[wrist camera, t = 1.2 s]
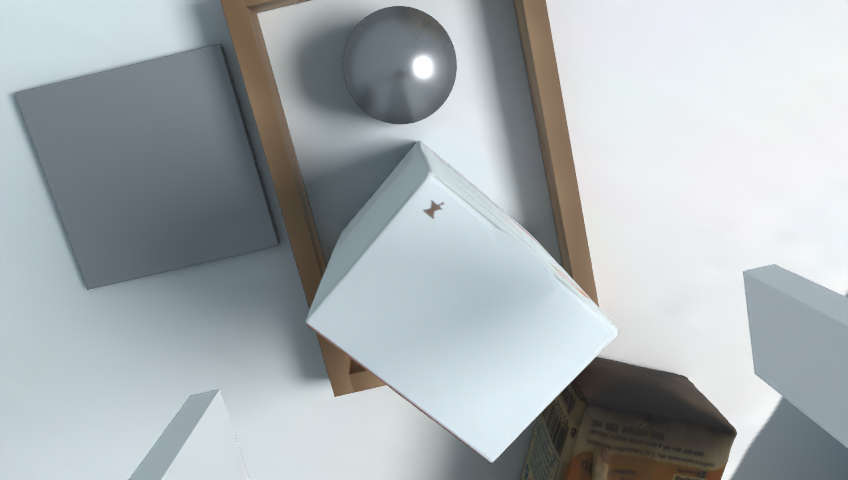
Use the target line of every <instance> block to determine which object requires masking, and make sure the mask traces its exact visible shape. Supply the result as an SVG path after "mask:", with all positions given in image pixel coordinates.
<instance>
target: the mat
mask: <svg viewBox="0 0 848 480" xmlns="http://www.w3.org/2000/svg"><path fill="white" fill-rule="evenodd" d="M15 96H16V99H17V101H18V104H19V107H20V109H21V112H22V115H23V117H24V120H25V123H26V126H27V128H28V131H29V134H30V136H31V139H32V142H33V144H34V147H35V150H36V152H37V155H38V158H39V160H40V163H41V166H42V169H43V171H44V174H45V177H46V179H47V182H48V185H49V187H50V190H51V193H52V195H53V198H54V201H55V203H56V206H57V209H58V212H59V214H60V217H61V220H62V222H63V225H64V228H65V230H66V233H67V236H68V238H69V241H70V244H71V247H72V249H73V252H74V255H75V257H76V260H77V263H78V265H79V268H80V271H81V273H82V276H83V279H84V281H85V284H86V287H87V290H89V289H94V288H98V287H102V286H106V285H111V284H115V283H119V282H124V281H128V280H132V279H136V278H141V277H145V276H149V275H154V274H158V273H162V272H166V271H171V270H175V269H179V268H184V267H188V266H192V265H196V264H201V263H205V262H209V261H214V260H218V259H222V258H226V257H231V256H235V255H239V254H244V253H248V252H252V251H256V250H261V249H265V248H269V247H274V246H278V245H279V244H280V242H279V239H278V235H277V232H276V229H275V225H274V222H273V218H272V215H271V211H270V208H269V205H268V201H267V198H266V194H265V191H264V187H263V184H262V181H261V177H260V174H259V170H258V167H257V163H256V160H255V157H254V153H253V150H252V146H251V143H250V139H249V136H248V133H247V129H246V126H245V122H244V119H243V115H242V112H241V109H240V105H239V102H238V98H237V95H236V91H235V88H234V85H233V81H232V78H231V74H230V71H229V68H228V64H227V61H226V57H225V54H224V50H223V47H222V44H217V45H212V46H208V47H204V48H200V49H196V50H191V51H187V52H183V53H179V54H175V55H171V56H166V57H162V58H158V59H154V60H150V61H145V62H141V63H137V64H133V65H129V66H125V67H120V68H116V69H112V70H108V71H104V72H99V73H95V74H91V75H87V76H83V77H79V78H74V79H70V80H66V81H62V82H58V83H54V84H49V85H45V86H41V87H37V88H33V89H28V90H24V91H20V92H16V93H15Z"/></svg>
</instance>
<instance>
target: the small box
mask: <svg viewBox="0 0 848 480" xmlns="http://www.w3.org/2000/svg"><path fill="white" fill-rule="evenodd" d="M306 325H307V326H308V327H310V328H311V329H312V330H314V331H315V332H316V333H318V334H319V335H320V336H322V337H323V338H324V339H326V340H327V341H328V342H330V343H331V344H332V345H334V346H335V347H336V348H338V349H339V350H341V351H342V352H343V353H345V354H346V355H347V356H349V357H350V358H351V359H352V360H354V361H355V362H356V363H358V364H359V365H360V366H362V367H363V368H364V369H366V370H367V371H368V372H370V373H371V374H372V375H374V376H375V377H376V378H378V379H379V380H380V381H382V382H383V383H384V384H386V385H387V386H389V387H390V388H391V389H393V390H394V391H395V392H396V393H398V394H399V395H400V396H402V397H403V398H404V399H406V400H407V401H409V402H410V403H411V404H413V405H414V406H415V407H416V408H417V409H419V410H420V411H421V412H423V413H424V414H425V415H427V416H428V417H429V418H431V419H432V420H434V421H435V422H436V423H438V424H439V425H440V426H442V427H443V428H444V429H446V430H447V431H448V432H450V433H451V434H452V435H454V436H455V437H456V438H458V439H459V440H460V441H462V442H463V443H464V444H466V445H467V446H468V447H470V448H471V449H472V450H474V451H475V452H476V453H478V454H479V455H480V456H482V457H483V458H485V459H486V460H487V461H488V462H489V463H492V462H494V461H495V460H496V459H497V458H498V457H499V456H500V455H501V453H502V452H503V451H504V450H505V449H506V448H507V447H508V446H509V445H510V444H511V443H512V442H513V441H514V440H515V439H516V438H517V437H518V436H519V435H520V434H521V433H522V432H523V430H524V429H525V428H526V427H527V426H528V425H529V424H530V423H531V422H532V421H533V420H534V419H535V418H536V417H537V416H538V415H539V414H540V413H541V412H542V411H543V410H544V409H545V408H546V407H547V406H548V405H549V404H550V403H551V402H552V401H553V400H554V399H555V398H556V397H557V396H558V395H559V394H560V393H561V392H562V391H563V390H564V389H565V388H566V387H567V386H568V385H569V384H570V383H571V382H572V381H573V380H574V379H575V378H576V377H577V376H578V375H579V374H580V373H581V372H582V370H583V369H584V368H585V367H586V366H587V365H588V364H589V363H590V362H591V361H592V360H593V359H594V358H595V357H596V356H597V355H598V354H599V353H600V352H601V351H602V350H603V349H604V348H605V347H606V346H607V345H608V344H609V343H610V342H611V341H612V340H613V339H614V338H615V337H617V335H618V329H617V327H616V326H615V325H614V324H613V322H612V321H611V320H610V319H609V318H608V317H607V316H606V315H605V313H604V312H603V311H602V310H601V309H600V308H599V307H598V306H597V305H596V304H595V303H594V302H593V301H592V300H591V299H590V297H589V296H588V295H587V294H586V293H585V292H584V291H583V290H582V289H581V288H580V287H579V285H578V284H577V283H576V282H575V281H574V280H573V279H572V278H571V277H570V276H569V275H568V273H567V272H566V271H565V270H564V269H563V268H562V267H561V266H560V265H559V264H558V263H557V262H556V261H555V260H554V259H553V258H552V257H551V255H550V254H549V253H548V252H547V251H546V250H545V249H544V248H543V247H542V246H541V244H540V243H539V242H538V241H537V240H536V239H535V238H534V237H533V236H532V235H531V234H530V233H529V232H528V231H527V230H526V229H525V228H523V227H522V226H521V225H520V224H519V223H518V222H516V221H515V220H514V219H513V218H512V217H511V216H510V215H508V214H507V213H506V212H505V211H504V210H503V209H501V208H500V207H499V206H498V205H497V204H496V203H494V202H493V201H492V200H491V199H490V198H488V197H487V196H486V195H485V194H484V193H483V192H481V191H480V190H479V189H478V188H477V187H476V186H474V185H473V184H472V183H471V182H470V181H469V180H467V179H466V178H465V177H464V176H463V175H461V174H460V173H459V172H458V171H457V170H456V169H454V168H453V167H452V166H451V165H450V164H448V163H447V162H446V161H445V160H444V159H442V158H441V157H440V156H439V155H437V154H436V153H435V152H434V151H433V150H431V149H430V148H429V147H428V146H426V145H425V144H424V143H422V142H421V141H417V143H416V144H415V145H414V146H413V147H412V148H411V150H410V151H409V152H408V153H407V154H406V156H405V157H404V158H403V159H402V160H401V162H400V163H399V164H398V165H397V166H396V168H395V169H394V170H393V171H392V172H391V173H390V175H389V176H388V177H387V178H386V179H385V181H384V182H383V183H382V184H381V185H380V187H379V188H378V189H377V190H376V191H375V193H374V194H373V195H372V196H371V197H370V199H369V200H368V201H367V202H366V203H365V204H364V206H363V207H362V208H361V209H360V210H359V211H358V213H357V214H356V215H355V216H354V217H353V219H352V220H351V221H350V222H349V223H348V224H347V226H346V227H345V228H344V229H343V231H342V232H341V234H340V236H339V239H338V241H337V244H336V246H335V248H334V250H333V252H332V255H331V258H330V260H329V263H328V265H327V268H326V270H325V273H324V275H323V277H322V280H321V282H320V285H319V288H318V290H317V293H316V295H315V298H314V300H313V303H312V305H311V308H310V311H309V313H308V316H307V319H306Z"/></svg>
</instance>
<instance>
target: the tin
mask: <svg viewBox="0 0 848 480" xmlns="http://www.w3.org/2000/svg"><path fill="white" fill-rule="evenodd" d="M456 70H457V63H456V54H455V50H454V46H453V44H452V41H451V39H450V37H449V36H448V34H447V32H446V31H445V29H444V28H443V27H442V26H441V25H440V24H439V23H438V22H437V21H436V20H435V19H434V18H433V17H431V16H430V15H428V14H426V13H425V12H423V11H420V10H418V9H415V8H411V7H404V6H393V7H387V8H384V9H380V10H378V11H376V12H374V13H372V14H370V15H369V16H367V17H366V18H365V19H363V20H362V21H361V22H360V23H359V24H358V25H357V26H356V28H355V29H354V30H353V32H352V33H351V35H350V37H349V39H348V41H347V44H346V47H345V51H344V56H343V73H344V79H345V82H346V85H347V88H348V90H349V92H350V94H351V96H352V97H353V99H354V100H355V102H356V103H357V104H358V105H359V106H360V107H361V108H362V109H363V110H364V111H365V112H366V113H368V114H369V115H370V116H372V117H374V118H376V119H378V120H381V121H383V122H387V123H392V124H409V123H414V122H417V121H420V120H422V119H425V118H427V117H428V116H430V115H431V114H433V113H434V112H435V111H437V110H438V109H439V108H440V107H441V106H442V105H443V103H444V102H445V101H446V99H447V98H448V96H449V94H450V92H451V90H452V88H453V85H454V82H455V77H456Z"/></svg>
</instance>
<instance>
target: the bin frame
mask: <svg viewBox="0 0 848 480" xmlns="http://www.w3.org/2000/svg"><path fill="white" fill-rule="evenodd" d="M305 1H309V0H221V3H222V7H223V10H224V14H225V17H226V21H227V24H228V27H229V31H230V34H231V38H232V41H233V45H234V48H235V52H236V55H237V59H238V62H239V66H240V69H241V73H242V76H243V80H244V83H245V87H246V90H247V94H248V97H249V100H250V104H251V107H252V111H253V114H254V118H255V121H256V125H257V128H258V132H259V135H260V139H261V142H262V146H263V149H264V153H265V156H266V160H267V163H268V166H269V170H270V173H271V177H272V180H273V184H274V187H275V191H276V194H277V198H278V201H279V205H280V208H281V212H282V215H283V219H284V222H285V226H286V229H287V232H288V236H289V239H290V243H291V246H292V250H293V253H294V257H295V260H296V264H297V267H298V271H299V274H300V278H301V281H302V285H303V288H304V292H305V295H306V299H307V302H308V305H309V309H310V308H311V305H312V303H313V300H314V298H315V295H316V293H317V290H318V288H319V285H320V282H321V280H322V277H323V275H324V273H325V270H326V268H327V266H326V263H325V259H324V255H323V252H322V248H321V244H320V241H319V237H318V234H317V230H316V226H315V223H314V219H313V216H312V212H311V208H310V205H309V201H308V197H307V194H306V190H305V187H304V183H303V179H302V176H301V172H300V169H299V165H298V161H297V158H296V154H295V150H294V147H293V143H292V140H291V136H290V132H289V129H288V125H287V121H286V118H285V114H284V111H283V107H282V103H281V100H280V96H279V93H278V89H277V85H276V82H275V78H274V74H273V71H272V67H271V64H270V60H269V56H268V53H267V49H266V46H265V42H264V38H263V35H262V31H261V27H260V24H259V20H258V17H257V13H259V12H263V11H268V10H272V9H276V8H280V7H284V6H288V5H293V4H297V3H301V2H305ZM513 1H514V6H515V12H516V17H517V22H518V28H519V33H520V39H521V44H522V49H523V55H524V60H525V66H526V71H527V76H528V82H529V87H530V92H531V98H532V103H533V109H534V114H535V119H536V125H537V130H538V136H539V141H540V146H541V152H542V157H543V163H544V168H545V173H546V179H547V184H548V190H549V195H550V200H551V206H552V211H553V216H554V222H555V227H556V233H557V238H558V243H559V249H560V254H561V260H562V265H563V269H564V270H565V271H566V272H567V273H568V275H569V276H570V277H571V278H572V279H573V280H574V281H575V282H576V283H577V284H578V285H579V287H580V288H581V289H582V290H583V291H584V292H585V293H586V294H587V295H588V296H589V297H590V299H591V300H592V301H593V302H594V303H595V304H596V305H597V306H598V307H599V305H598V299H597V293H596V287H595V282H594V276H593V270H592V264H591V259H590V253H589V247H588V241H587V236H586V230H585V224H584V219H583V213H582V207H581V201H580V196H579V190H578V184H577V178H576V173H575V167H574V161H573V155H572V150H571V144H570V138H569V132H568V127H567V121H566V115H565V109H564V104H563V98H562V92H561V87H560V81H559V75H558V69H557V64H556V58H555V52H554V46H553V41H552V35H551V29H550V23H549V18H548V12H547V6H546V0H513ZM317 337H318V340H319V344H320V347H321V351H322V354H323V358H324V361H325V365H326V368H327V371H328V375H329V378H330V382H331V385H332V389H333V392H334V396H335V397H336V396H341V395H345V394H349V393H354V392H358V391H363V390H367V389H371V388H376V387H380V386H384V385H386V384H384V383H383V382H382V381H380V380H379V379H378V378H376V377H375V376H374V375H372V374H371V373H370V372H368V371H367V370H366V369H364V368H363V367H362V366H360V365H359V364H358V363H356V362H355V361H354V360H352V359H351V358H350V357H349V356H347V355H346V354H345V353H343V352H342V351H341V350H339V349H338V348H336V347H335V346H334V345H332V344H331V343H330V342H328V341H327V340H326V339H324V338H323V337H322V336H320V335H319V334H318V333H317Z"/></svg>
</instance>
